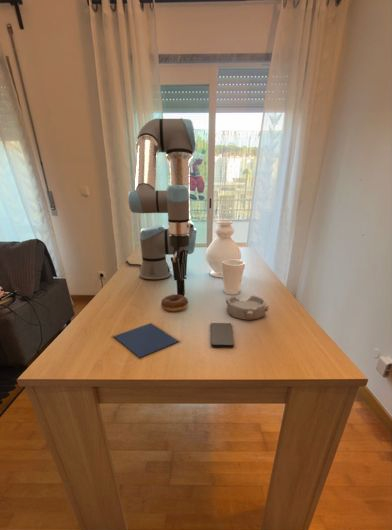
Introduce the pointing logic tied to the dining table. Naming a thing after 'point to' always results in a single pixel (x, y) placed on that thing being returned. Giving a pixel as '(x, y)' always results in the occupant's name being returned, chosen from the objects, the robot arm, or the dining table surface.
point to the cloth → (145, 340)
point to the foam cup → (232, 275)
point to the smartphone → (221, 335)
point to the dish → (247, 307)
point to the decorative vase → (222, 248)
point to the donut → (174, 302)
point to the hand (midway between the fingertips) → (181, 295)
